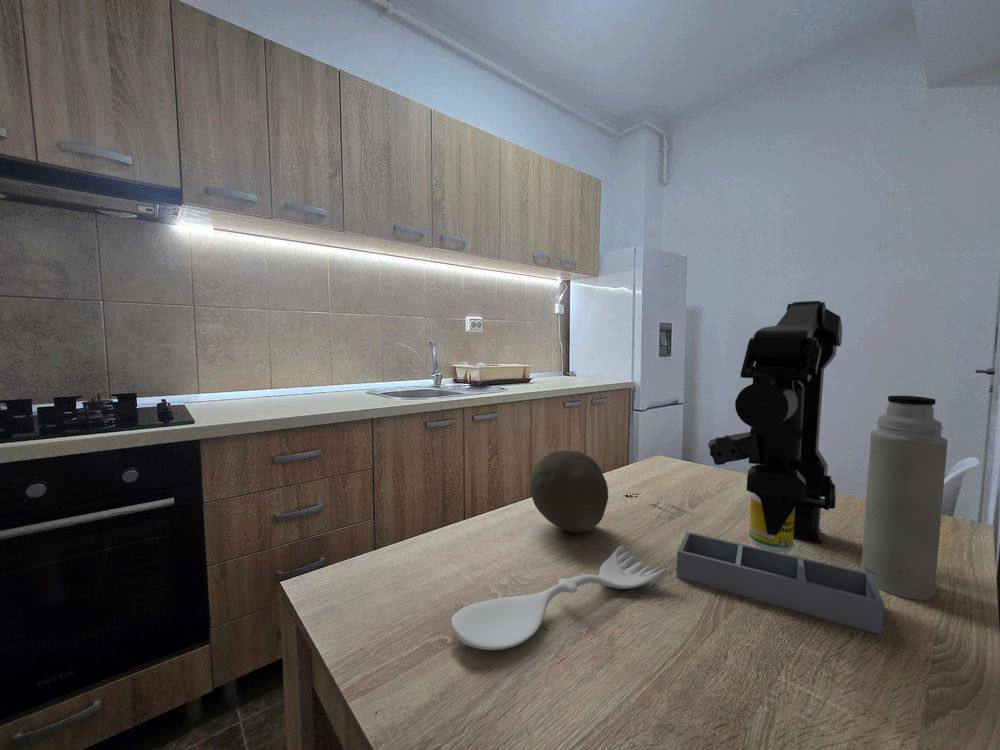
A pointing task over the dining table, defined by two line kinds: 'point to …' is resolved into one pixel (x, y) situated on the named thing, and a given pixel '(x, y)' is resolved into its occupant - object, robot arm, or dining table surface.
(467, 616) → the spoon
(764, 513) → the robot arm
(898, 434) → the thermos bottle
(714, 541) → the slot holder
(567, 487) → the brown coconut
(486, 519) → the dining table surface
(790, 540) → the supplement bottle
